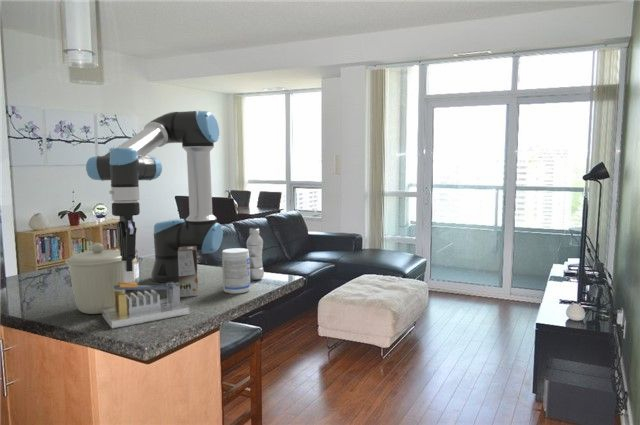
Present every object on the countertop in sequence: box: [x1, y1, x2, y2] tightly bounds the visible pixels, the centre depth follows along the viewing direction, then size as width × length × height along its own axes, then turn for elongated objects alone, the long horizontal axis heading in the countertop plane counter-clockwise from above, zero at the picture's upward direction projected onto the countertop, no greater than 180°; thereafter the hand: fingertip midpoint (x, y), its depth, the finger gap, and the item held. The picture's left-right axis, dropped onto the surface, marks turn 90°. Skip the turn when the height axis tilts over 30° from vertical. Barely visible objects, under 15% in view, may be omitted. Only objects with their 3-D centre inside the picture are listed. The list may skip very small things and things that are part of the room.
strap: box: [114, 281, 176, 291], centre depth 147 cm, size 3×18×2 cm, turn 124°
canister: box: [64, 242, 126, 315], centre depth 152 cm, size 18×18×21 cm
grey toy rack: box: [101, 282, 190, 329], centre depth 147 cm, size 14×22×8 cm, turn 124°
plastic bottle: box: [246, 227, 265, 281], centre depth 189 cm, size 6×7×20 cm
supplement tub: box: [221, 247, 251, 295], centre depth 173 cm, size 10×10×15 cm
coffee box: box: [178, 246, 199, 298], centre depth 171 cm, size 9×6×16 cm
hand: (128, 281), depth 144 cm, fingers closed
